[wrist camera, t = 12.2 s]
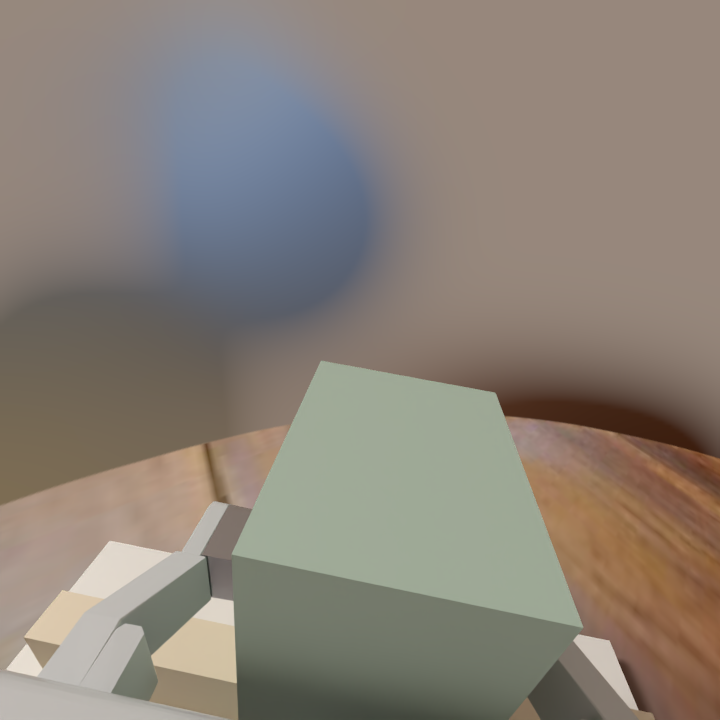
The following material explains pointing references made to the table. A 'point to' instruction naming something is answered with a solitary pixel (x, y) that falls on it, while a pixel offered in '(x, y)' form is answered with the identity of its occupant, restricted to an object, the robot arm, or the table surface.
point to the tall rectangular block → (395, 561)
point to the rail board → (223, 610)
